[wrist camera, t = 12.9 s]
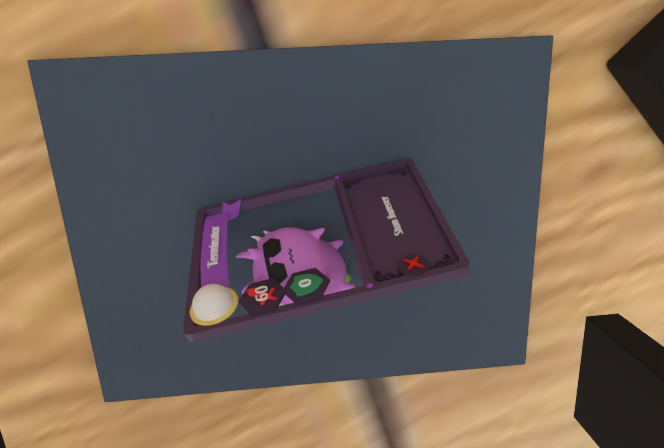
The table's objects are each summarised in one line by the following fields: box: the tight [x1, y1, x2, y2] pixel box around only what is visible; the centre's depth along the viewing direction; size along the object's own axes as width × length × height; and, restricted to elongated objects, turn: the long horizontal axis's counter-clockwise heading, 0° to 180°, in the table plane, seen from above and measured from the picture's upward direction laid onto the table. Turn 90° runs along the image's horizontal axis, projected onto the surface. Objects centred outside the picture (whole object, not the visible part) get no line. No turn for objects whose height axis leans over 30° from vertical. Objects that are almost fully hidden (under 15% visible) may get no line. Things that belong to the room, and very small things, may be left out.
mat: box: [28, 36, 553, 402], centre depth 21 cm, size 20×15×1 cm
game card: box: [183, 158, 470, 342], centre depth 19 cm, size 7×5×9 cm
